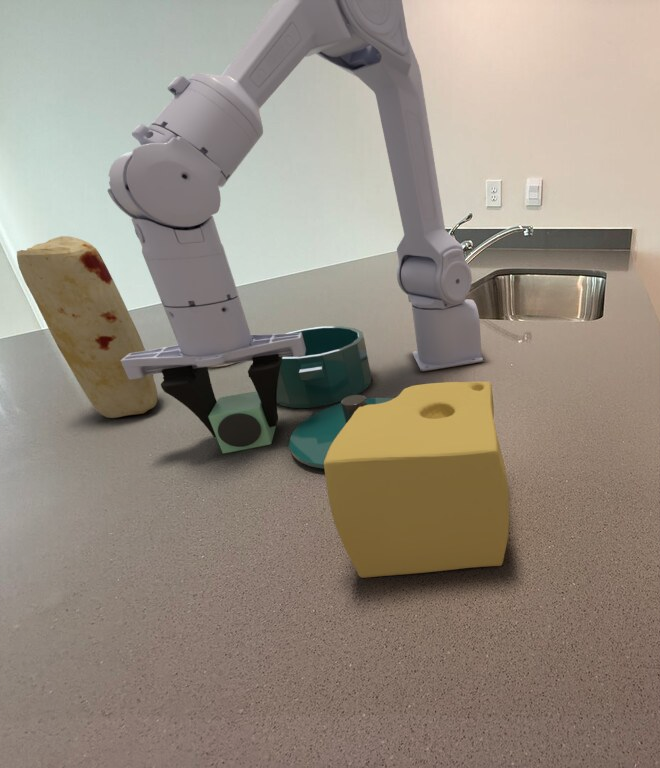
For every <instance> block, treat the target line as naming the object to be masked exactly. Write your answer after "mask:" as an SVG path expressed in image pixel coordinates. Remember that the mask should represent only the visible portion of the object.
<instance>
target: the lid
mask: <svg viewBox="0 0 660 768" xmlns="http://www.w3.org/2000/svg"><path fill="white" fill-rule="evenodd" d="M392 399H394V398H393V397H368V398H367V397H366V396H365V395H362V394H358V395H352V396H348V397H346V398H344V399H343V400H342V401H341V402H340V403H337V404H333V405H332V406H329V407H326V408H324V409H322V410H320V411H318V412H316V413H314V414H312V415H310V416H309V417H307V418H306V419H305V420H303V421H302V422H300V423H299V424H298V425H297V426H296V428H295V429H294V430H293V431H292V433H291V435H290V437H289V440H288V441H289V442H288V446H289V451H290V452H291V454H292V456H293V457H294V458H295V459H296V460H297V461H298V462H300V463H301V464H304V465H306V466H309V467H312V468H317V469H324V460H325V458H326V455H327V452H328V450H329V448H330V446H331V444H332V443H333V441H334V439H335V438H336V437H337V435H338V434H339V433H340V431H341V430H342V429H343V427H344V426H345V425H346V423H347V422H348V421H349V420H350V418H351V417H352V415H353V414H354V412H355V411H356V410H357V409H358V408H359V407H363V406H365V405H370V404H380V403H384V402H388V401H390V400H392Z"/></svg>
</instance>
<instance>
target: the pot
mask: <svg viewBox="0 0 660 768" xmlns="http://www.w3.org/2000/svg"><path fill="white" fill-rule="evenodd" d="M300 332H301V333H302V336H303V340H304V343H305V347H306V352H305V355H304V356H298V357H294V356H293V355H289V356H283V358H282V362H281V366H280V371H279V377H278V384H277V405H279V406H281V407H285V408H292V409H312V408H319V407H326V406H329V405H335V404H339V403H341V401H342V400H343V399H344V398H346V397H348V396H352V395H361V393H362V392H365V390H367V389H368V388H369V386H370V385H371V384H372V373H371V368H370V363H369V358H368V352H367V346H366V341H365V336H364V332H363V330H362V331H361V330H360V329H357V328H356V327H351V326H350V327H349V326H342V325H340V326H335V325H334V326H326V325H325V326H323V325H322V326H316V327H309V328H302V329H299V330H294V331H289V332H286V333H284V334H290V333H300Z"/></svg>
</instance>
